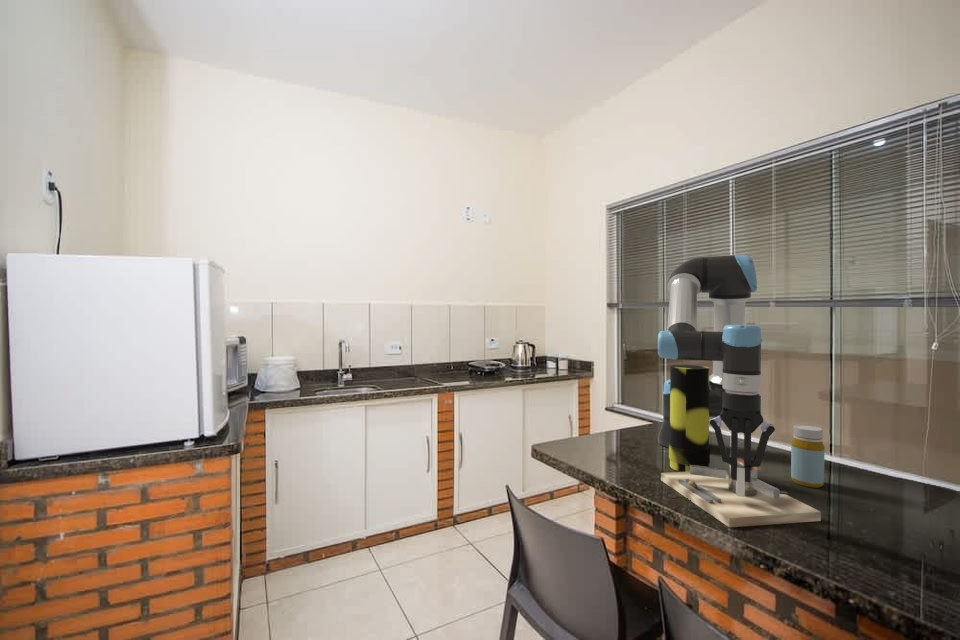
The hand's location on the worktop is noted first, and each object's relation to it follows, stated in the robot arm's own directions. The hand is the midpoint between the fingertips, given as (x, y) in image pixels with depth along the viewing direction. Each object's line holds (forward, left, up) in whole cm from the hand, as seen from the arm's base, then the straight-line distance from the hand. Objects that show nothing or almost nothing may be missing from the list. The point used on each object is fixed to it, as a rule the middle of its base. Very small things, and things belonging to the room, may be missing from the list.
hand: (740, 494), depth 97 cm
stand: (-7, +3, -4) cm, 8 cm away
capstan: (-4, +5, -2) cm, 7 cm away
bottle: (-13, +30, -4) cm, 33 cm away
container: (-27, +5, -4) cm, 27 cm away
